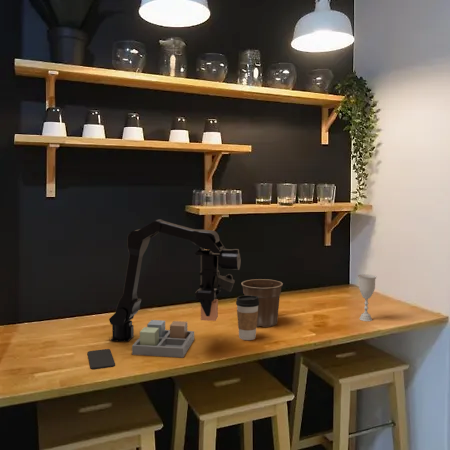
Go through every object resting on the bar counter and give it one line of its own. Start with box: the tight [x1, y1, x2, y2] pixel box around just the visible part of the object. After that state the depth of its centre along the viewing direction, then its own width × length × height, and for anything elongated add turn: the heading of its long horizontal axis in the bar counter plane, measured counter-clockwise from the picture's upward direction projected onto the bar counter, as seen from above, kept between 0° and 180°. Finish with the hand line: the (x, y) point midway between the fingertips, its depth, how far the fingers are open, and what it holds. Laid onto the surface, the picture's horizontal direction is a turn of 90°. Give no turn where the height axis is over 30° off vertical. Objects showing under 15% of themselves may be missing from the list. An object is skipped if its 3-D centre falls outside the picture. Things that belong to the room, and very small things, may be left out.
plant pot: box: [241, 278, 284, 328], centre depth 182 cm, size 16×16×16 cm
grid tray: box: [131, 319, 195, 358], centre depth 156 cm, size 17×17×7 cm
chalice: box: [357, 273, 378, 322], centre depth 187 cm, size 7×7×18 cm
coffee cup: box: [235, 295, 259, 341], centre depth 165 cm, size 8×8×15 cm
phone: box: [86, 348, 116, 370], centre depth 145 cm, size 7×1×15 cm
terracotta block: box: [200, 298, 219, 322], centre depth 155 cm, size 5×5×6 cm
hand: (209, 313), depth 155 cm, fingers closed on terracotta block, 5 cm apart
